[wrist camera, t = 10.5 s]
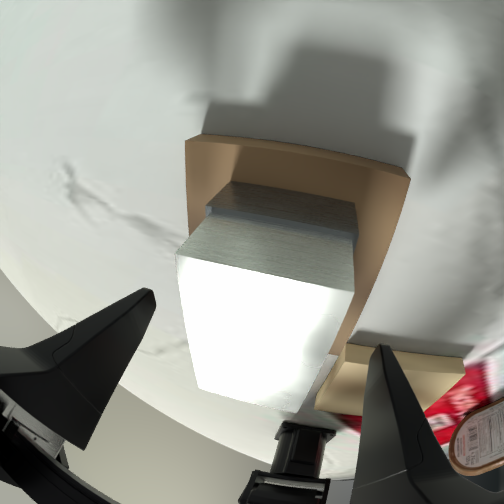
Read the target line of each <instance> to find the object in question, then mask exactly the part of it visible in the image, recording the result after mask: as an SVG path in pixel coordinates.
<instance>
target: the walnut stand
mask: <svg viewBox="0 0 504 504" xmlns="http://www.w3.org/2000/svg"><path fill="white" fill-rule="evenodd" d="M185 166H186V192H187V211H188V227H189V236H190V235H191V234H192V233H193V232H194V231H195V229H196V228H197V227H198V226H199V225H200V224H201V223H202V221H203V220H204V219H205V218H206V214H205V205H206V204H207V203H208V202H209V201H210V200H211V199H212V198H213V197H214V196H215V195H216V194H217V193H218V192H219V191H220V190H221V189H222V188H223V187H224V186H225V185H226V184H227V183H228V182H229V181H237V182H244V183H251V184H258V185H264V186H270V187H276V188H282V189H288V190H294V191H299V192H305V193H310V194H315V195H320V196H325V197H330V198H335V199H340V200H344V201H349V202H354V203H355V208H356V214H357V221H358V228H359V238H358V241H357V245H356V248H355V251H354V254H353V266H354V291H355V293H354V295H353V298H352V300H351V303H350V305H349V308H348V310H347V313H346V315H345V317H344V320H343V322H342V324H341V327H340V329H339V331H338V333H337V336H336V338H335V340H334V342H333V344H332V346H331V349H330V351H329V353H328V354H332V355H338V356H340V354H341V352H342V350H343V348H344V347H345V345H346V343H347V341H348V339H349V337H350V335H351V333H352V331H353V329H354V327H355V325H356V323H357V321H358V319H359V317H360V314H361V312H362V310H363V308H364V306H365V304H366V302H367V299H368V297H369V295H370V293H371V290H372V288H373V286H374V283H375V281H376V279H377V276H378V274H379V271H380V269H381V266H382V264H383V261H384V259H385V256H386V254H387V251H388V248H389V246H390V243H391V240H392V237H393V234H394V232H395V229H396V226H397V223H398V220H399V217H400V214H401V211H402V207H403V204H404V201H405V198H406V194H407V191H408V187H409V184H410V180H411V179H410V177H409V176H408V175H407V173H406V172H405V171H404V170H403V169H402V168H400V167H397V166H393V165H390V164H386V163H382V162H378V161H374V160H371V159H366V158H362V157H358V156H354V155H349V154H345V153H340V152H335V151H330V150H325V149H320V148H314V147H309V146H303V145H297V144H290V143H284V142H277V141H269V140H261V139H253V138H244V137H233V136H221V135H207V134H200V135H197V136H195V137H193V138H190V139H188V140H186V141H185Z"/></svg>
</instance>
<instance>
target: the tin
mask: <svg viewBox="0 0 504 504" xmlns="http://www.w3.org/2000/svg"><path fill="white" fill-rule="evenodd" d="M449 458H450V462H451V465H452V467H453V468H454V469H455V470H456V471H457V472H458V473H461V474H463V475H467V476H474V475H479V474H482V473H484V472H487V471H490V470H492V469H494V468H497V467H499V466H502V465H504V397H503V398H501V399H499V400H497V401H495V402H493V403H491V404H489V405H486V406H484V407H482V408H479V409H477V410H475V411H473V412H471V413H470V414H469V415H467V416H466V417H465V418H464V419H463V420H462V421H461V422H460V423H459V424H458V426H457V427H456V429H455V430H454V432H453V434H452V437H451V440H450V443H449Z"/></svg>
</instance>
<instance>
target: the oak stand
mask: <svg viewBox="0 0 504 504" xmlns="http://www.w3.org/2000/svg"><path fill="white" fill-rule="evenodd" d="M375 349H376V348H373V347H367V346H361V345H355V344H349V343H346V345H345V347H344V348H343V350H342V352H341V354H340V356H339V357H338V359H337V360H336V362H335V364H334V366H333V368H332V369H331V371H330V373H329V375H328V376H327V378H326V380H325V382H324V383H323V385H322V387H321V388H320V390H319V392H318V393H317V395H316V401H315V406H314V410H320V411H327V412H334V413H341V414H349V415H358V416H362V414H363V400H364V392H365V386H366V379H367V373H368V366H369V360H370V357H371V355H372V353H373V352H374V350H375ZM392 351H393V350H392ZM393 353H394V355H395V357H396V358H397V360H398V362H399V364H400V366H401V368H402V370H403V372H404V374H405V375H406V377H407V379H408V381H409V383H410V385H411V387H412V389H413V391H414V393H415V395H416V397H417V399H418V401H419V403H420V406H421V408H422V410H423V412H424V411H425V410H426V409H427V408H429V407H430V406H431V405H432V404H433V403H435V402H436V401H437V400H438V399H439V398H440V397H441V396H443V395H444V394H445V393H446V392H447V391H448V390H449V389H450V388H451V387H453V386H454V385H455V384H456V383H457V382H458V381H459V380H460V379H461V378H462V377H463V376H464V375H465V369H464V364H463V360H462V358H456V357H445V356H434V355H425V354H416V353H408V352H401V351H393Z"/></svg>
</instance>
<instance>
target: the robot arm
mask: <svg viewBox="0 0 504 504" xmlns="http://www.w3.org/2000/svg"><path fill="white" fill-rule="evenodd" d="M155 309H156V301H155V297H154V292H153V291H152V290H151V289H148V288H141V289H139V290H138V291H136V292H134V293H132V294H130V295H128V296H126V297H125V298H123V299H121V300H119V301H117V302H115V303H113V304H112V305H110V306H108V307H106V308H104V309H102V310H101V311H99V312H97V313H95V314H93V315H91V316H90V317H88V318H86V319H84V320H82V321H80V322H79V323H77V324H76V325H73V326H71V327H70V328H68V329H66V330H64V331H62V332H60V333H58V334H56V335H54V336H52V337H50V338H48V339H45V340H43V341H41V342H39V343H36V344H34V345H32V346H29V347H26V348H10V347H3V346H0V480H1V481H3V482H6V483H8V484H11V485H13V486H16V487H19V488H21V489H23V491H24V492H26V494H28V495H29V496H30V497H31V498H32V499H33V500H34V501H35V502H36V503H37V504H120V503H118V502H116V501H115V500H113V499H111V498H110V497H108V496H106V495H104V494H103V493H101V492H100V491H98V490H97V489H95V488H93V487H92V486H91V485H89V484H88V483H86V482H85V481H83V480H82V479H80V478H79V477H78V476H76V475H75V474H73V473H72V472H71V471H69V470H68V469H69V466H68V462H67V458H66V454H65V450H64V446H63V444H64V442H65V441H66V440H67V441H68V442H70V443H71V444H73V445H75V446H77V447H78V448H80V449H81V450H83V451H84V450H85V448H86V446H87V444H88V442H89V440H90V438H91V436H92V434H93V432H94V430H95V428H96V425H97V424H98V422H99V419H100V418H101V416H102V413H103V411H104V409H105V407H106V405H107V404H108V402H109V400H110V398H111V396H112V394H113V392H114V390H115V388H116V386H117V384H118V382H119V381H120V379H121V377H122V375H123V373H124V371H125V369H126V368H127V366H128V364H129V362H130V360H131V359H132V357H133V355H134V353H135V351H136V350H137V348H138V346H139V344H140V342H141V341H142V339H143V336H144V334H145V332H146V330H147V327H148V325H149V323H150V320H151V318H152V316H153V314H154V311H155ZM334 436H336V431H331V430H323V429H316V428H310V427H304V426H298V425H293V424H288V423H282V424H281V426H280V428H279V430H278V432H277V434H276V435H275V438H274V439H275V440H279V442H278V446H277V449H276V453H275V456H274V460H273V463H272V467H271V470H270V473H268V472H263V471H260V470H255V471H252V474H251V477H250V480H249V482H248V484H247V486H246V488H245V489H244V491H243V493H242V494H241V496H240V498H239V499H238V503H239V504H326V500H327V495H328V490H329V486H330V480H331V478H326V479H319V475H320V470H321V466H322V461H323V456H324V450H325V445H326V443H327V442H329V441H330V440H331V439H332V438H333V437H334ZM264 481H268V482H274V483H280V484H288V485H296V486H305V487H317V488H323V491H318V490H316V489H305V488H296V487H288V486H280V485H274V484H268V483H264ZM350 504H504V490H503V491H501V492H498V493H493V492H490V491H487V490H485V489H484V488H482V487H480V486H478V485H476V484H474V483H472V482H471V481H469V480H467V479H465V478H464V477H462V476H460V475H459V474H458V473H457V472H456V471H455V470H454V469H453V467H452V466H451V464H450V462H449V460H448V459H447V457H446V455H445V453H444V451H443V450H442V448H441V446H440V444H439V442H438V441H437V439H436V437H435V435H434V433H433V431H432V429H431V427H430V425H429V423H428V420H427V418H425V414H424V412H423V410H422V408H421V406H420V403H419V401H418V399H417V397H416V395H415V393H414V391H413V389H412V387H411V385H410V383H409V381H408V379H407V377H406V375H405V374H404V372H403V370H402V368H401V366H400V364H399V362H398V360H397V358H396V357H395V355H394V353H393V351H392V349H391V347H390V346H389V345H387V344H378V345H377V347H376V349H375V350H374V352H373V353H372V355H371V357H370V360H369V366H368V373H367V379H366V386H365V392H364V400H363V414H362V425H361V435H360V444H359V452H358V459H357V466H356V473H355V479H354V484H353V490H352V495H351V499H350Z"/></svg>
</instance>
